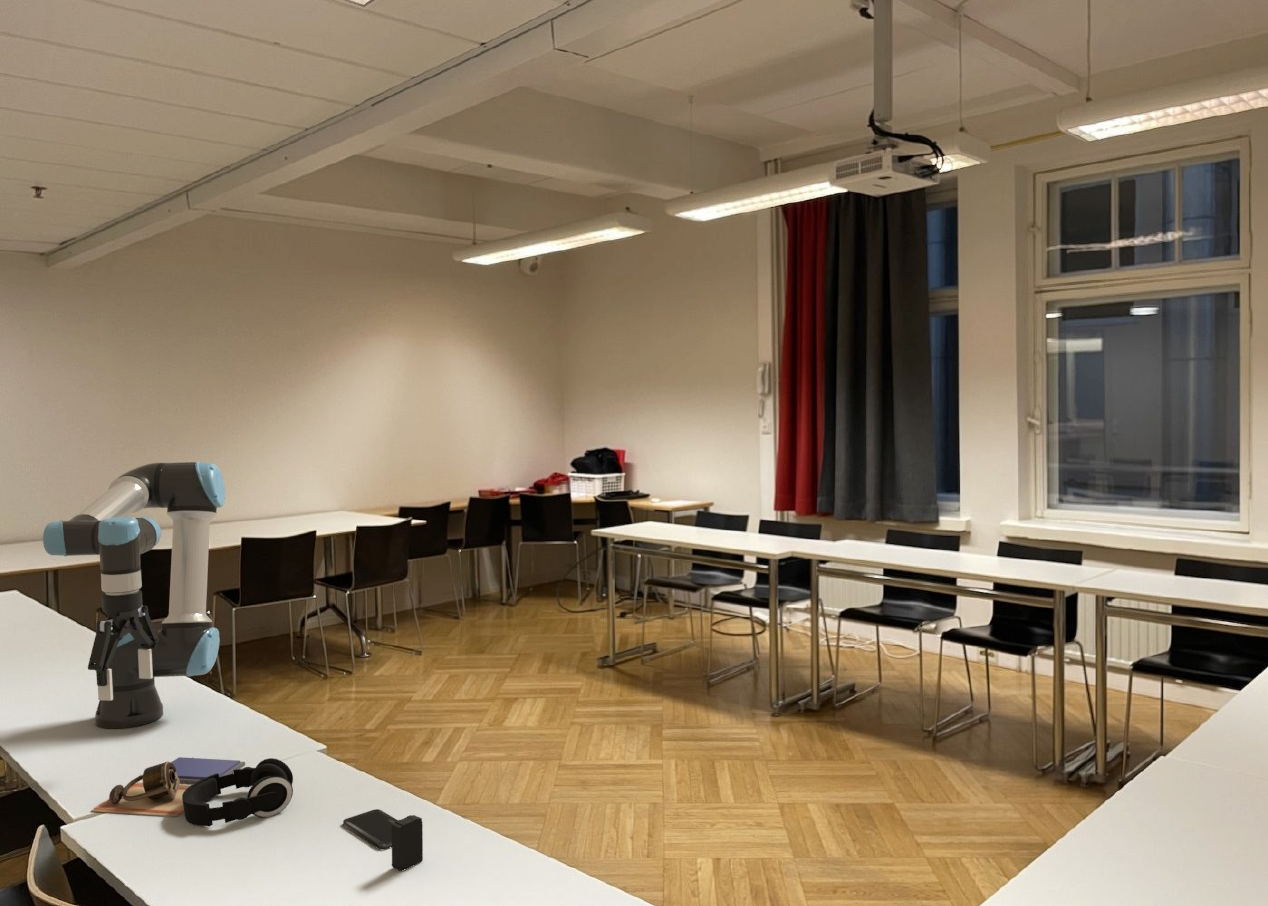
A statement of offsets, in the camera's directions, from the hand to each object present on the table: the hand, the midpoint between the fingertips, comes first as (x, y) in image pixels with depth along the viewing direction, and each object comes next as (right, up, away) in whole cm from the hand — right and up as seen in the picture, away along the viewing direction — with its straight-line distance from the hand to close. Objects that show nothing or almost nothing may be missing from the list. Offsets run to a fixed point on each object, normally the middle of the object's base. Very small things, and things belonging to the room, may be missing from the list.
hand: (126, 688), depth 206 cm
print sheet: (+12, -19, -12) cm, 26 cm away
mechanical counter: (+10, -19, -12) cm, 25 cm away
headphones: (+31, -20, -16) cm, 40 cm away
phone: (+61, -21, -26) cm, 69 cm away
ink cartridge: (+69, -21, -39) cm, 82 cm away
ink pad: (+14, -18, +2) cm, 23 cm away
